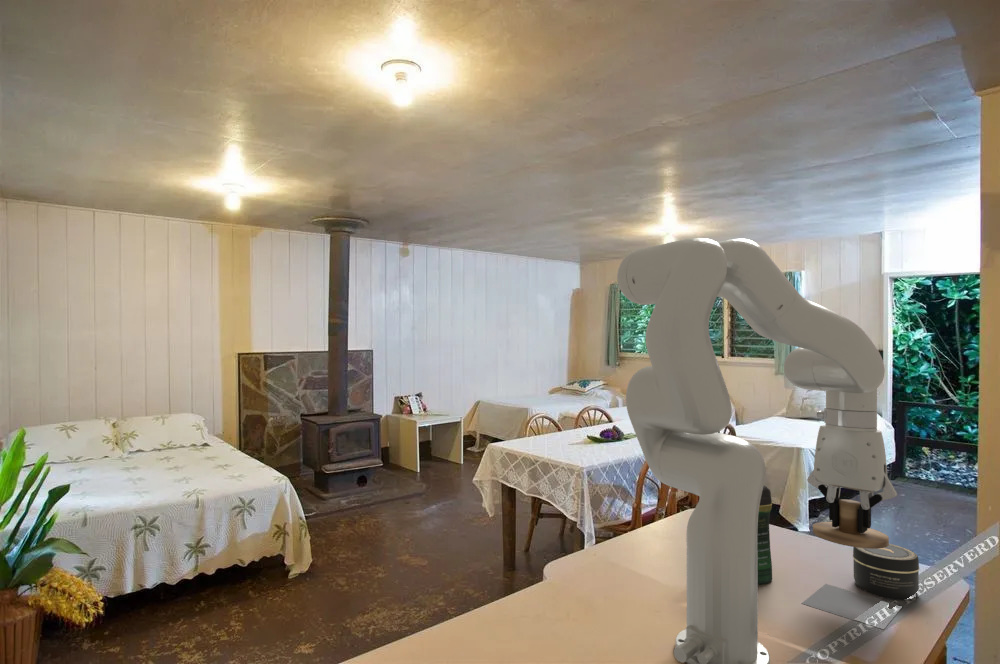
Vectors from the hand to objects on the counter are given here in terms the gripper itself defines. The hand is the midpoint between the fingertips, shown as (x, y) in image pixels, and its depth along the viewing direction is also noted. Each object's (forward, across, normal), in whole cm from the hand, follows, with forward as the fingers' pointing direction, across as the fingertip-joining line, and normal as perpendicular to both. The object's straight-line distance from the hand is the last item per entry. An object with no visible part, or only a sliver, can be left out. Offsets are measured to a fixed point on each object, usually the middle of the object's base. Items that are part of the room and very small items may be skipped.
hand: (849, 527), depth 96 cm
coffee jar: (+14, -18, 0) cm, 23 cm away
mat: (+14, 0, +1) cm, 14 cm away
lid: (+2, 0, 0) cm, 2 cm away
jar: (+14, +2, +13) cm, 19 cm away
